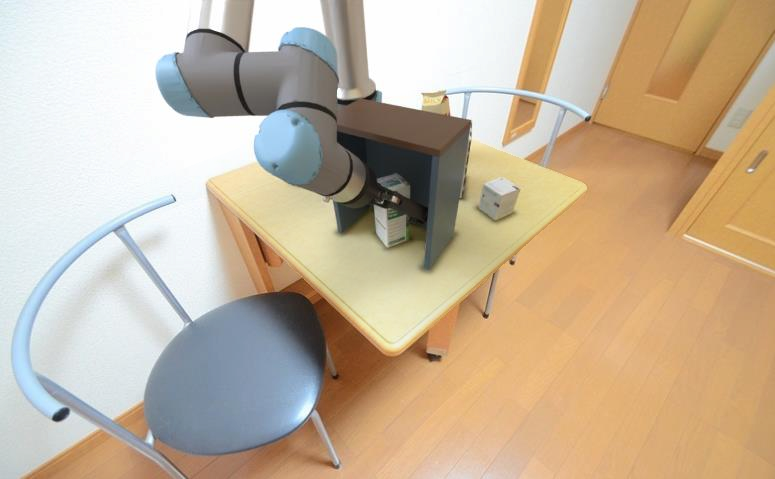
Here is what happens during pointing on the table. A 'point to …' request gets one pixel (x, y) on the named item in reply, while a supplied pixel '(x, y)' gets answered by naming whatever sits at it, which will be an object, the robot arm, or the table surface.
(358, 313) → the table surface
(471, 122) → the candy bar box
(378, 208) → the syrup box
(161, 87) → the robot arm
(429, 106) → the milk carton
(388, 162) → the cupboard
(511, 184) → the product carton
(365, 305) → the table surface
